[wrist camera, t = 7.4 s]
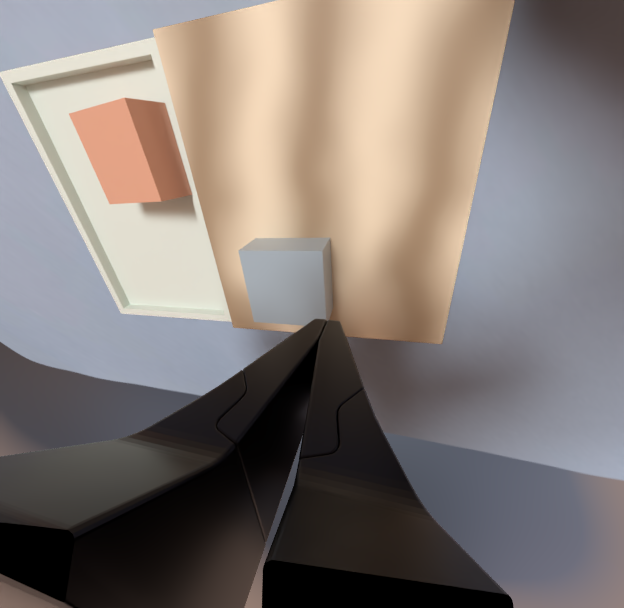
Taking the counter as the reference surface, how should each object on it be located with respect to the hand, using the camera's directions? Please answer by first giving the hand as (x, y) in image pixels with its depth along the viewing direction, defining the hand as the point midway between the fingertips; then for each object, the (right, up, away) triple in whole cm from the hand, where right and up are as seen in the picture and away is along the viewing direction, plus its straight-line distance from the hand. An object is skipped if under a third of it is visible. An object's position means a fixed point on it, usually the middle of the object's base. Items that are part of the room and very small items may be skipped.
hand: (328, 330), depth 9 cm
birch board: (0, +7, +9) cm, 11 cm away
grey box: (-2, +3, +9) cm, 10 cm away
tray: (-14, +8, +12) cm, 20 cm away
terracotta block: (-11, +11, +9) cm, 18 cm away
